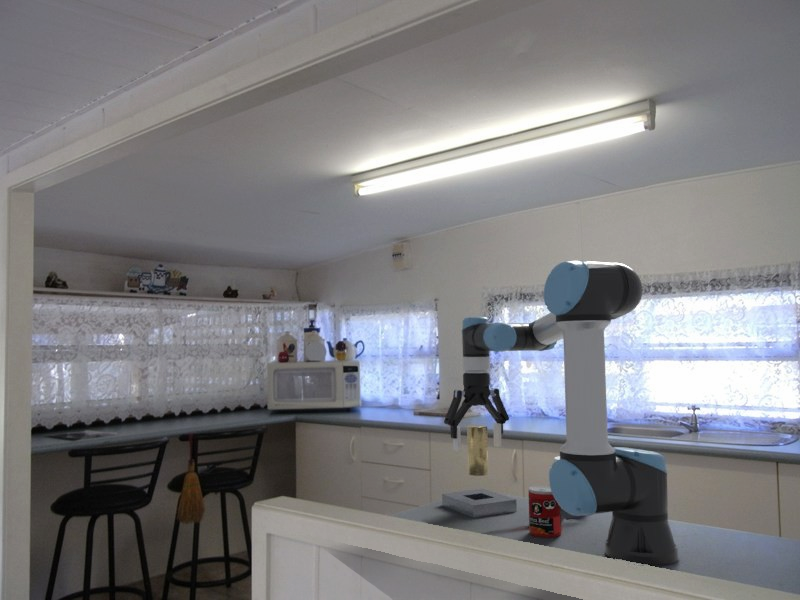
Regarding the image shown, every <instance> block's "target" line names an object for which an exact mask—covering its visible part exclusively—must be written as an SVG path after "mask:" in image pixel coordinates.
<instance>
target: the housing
mask: <svg viewBox="0 0 800 600" xmlns="http://www.w3.org/2000/svg"><path fill="white" fill-rule="evenodd" d="M441 506H442V507H445V508H447V509H450V510H453V511H455V512H457V513H459V514H462V515H465V516H468V517H470V518H471V519H476V518H482V517H489V516H496V515H497V516H498V515H503V514H511V513H516V512H518V511H517V509H518V508H517V507H518V506H517V499H516V498H513V497H510V496H507V495H503V494H500V493H497V492H494V491H491V490H488V489H485V488H479V489H470V490H463V491H455V492H454V491H453V492H447V493H441Z"/></svg>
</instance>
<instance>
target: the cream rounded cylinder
mask: <svg viewBox="0 0 800 600" xmlns="http://www.w3.org/2000/svg"><path fill="white" fill-rule="evenodd" d="M466 431H467V432H466V433H467V434H466V435H467V436H466V438H467V475H469V476H476V477H479V476H480V477H481V476H487V475H489V453H488V452H489V449H488V447H489V446H488V442H489V441H488V426H486V425H468V426H467V427H466Z"/></svg>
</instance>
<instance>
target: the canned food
mask: <svg viewBox="0 0 800 600" xmlns="http://www.w3.org/2000/svg"><path fill="white" fill-rule="evenodd" d="M528 518H529V519H528V521H529V522H528V523H529V524H528V525H529V532H530V534H531V535H532V536H534V537H537V538H543V539H544V538H545V539H546V538H547V539H549V538H558V537H559V536H561V534H562V530H563V529H562V509H561V507H560V506H559V505H558V503H557V501H556V500H555V498H554V496H553V494H552V491H551V488H550V485H547V484H545V485H539V484H538V485H533V486H530V487H528Z"/></svg>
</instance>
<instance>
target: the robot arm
mask: <svg viewBox="0 0 800 600" xmlns="http://www.w3.org/2000/svg"><path fill="white" fill-rule="evenodd" d="M642 297H643V283H642V281H641V279H640V276H639V275H638V274H637V273H636V271H635V270H634V269H632V268H631V267H630V266H628V265H626V264H624V263H619V262H603V261H591V260H568V261H566V260H565V261H563V262H559V263H558V264H556V265H555V266H554V267H553V268H552V269H551V271H550V273H549V274H548V276H547V278H546V280H545V283H544V288H543V301H544V304H545V306H546V309H547V311H549V313H547V314H545V315H544V316H541V317H539V318H538V319H536V320H534V321H532V322H530V323H529V322H528V323H526V322H525V323H520V322H519V323H515V322H514V323H513V322H512V323H509V322H507V323H506V322H498V321H497V322H493V323H490V321H489V318H488V317H485V316H475V317H474V316H472V317H471V316H470V317H469V316H468V317H465V318H464V319H463V320H462V329H461V336H462V338H461V339H462V340H461V342H462V343H461V344H462V370H463V371H464V373H463V374H462V384H463V390H461V389H460V390H459V389H454V391H453V396H452V397H453V398H452V401H451V403H450V406H449V408H448V410H447V413H446V415H445V418H444V420H443V423H444V424H445V425H447V426H450V427H449V428H450V438H451V439H452V450H453V451H456V452H461V450H462V447H461V442H462V441H461V438H462V437H461V426H459V424H460V423H461V422H462V420H463V419H464V417H465V415H466V414H467V412H468V411H469V410H470V408H471V407H473V406H474V407H477V406H483V407H484V408H485V409H486V410H487V412H488V413H489V414H490V416H491V417H492V419H493V420H494V421H495V422H493V425H492V426H493V427H492V428H493V447H495V448H496V447H498V448H502V447H503V446H502V435H504V424H506V422H507V421H509V420H510V416H509V414H508V411H507V410H506V408H505V406H504V403H503V401H502V399H501V396H500V389H499V388H494V387H492V388H490V385H491V374H490V373H489V371H491V366H490V365H491V364H490V352H496V353H499V352H515V351H516V352H518V351H521V352H522V351H523V352H524V351H525V352H527V351H529V352H531V351H532V352H534V351H535V352H544V351H549V350H550V351H551V350H553V349H554V348H555V345H556V344H558V343H557V342H558V341H560V340H562V339H563V364H564V365H563V366H564V395H565V396H564V398H565V399H564V400H565V401H564V402H565V427H566V429H565V430H566V432H565V434H566V437H565V438H566V441H565V443H564V444H563V445H562V446H561V447H559V456H560V460H557V461H556V462H554V461H553V463H552V464H551V467H550V468H549V470H548V471H549V472H548V482H549V486H550V488H551V491H552V494H553V496H554V498H555V500H556V501H557V503H558V505H559V506H560V507H561V508H562V509H561V510H563V511H564V512H566V513H567V514H569V515H571V516H578V517H579V516H587V517H588V516H593V515H598V514H604V513H612V516H611V521H610V526H609V529H608V534H607V537H606V539H605V543H604V549H605V550H604V551H605V555H606V556H608V557H609V558H610V557H612V558H616V559H622V560H626V561H630V562H636V563H641V564H648V565H654V566H653V567H655V566H656V567H660V566H661V567H662V566H668V565H671V564H674V563H676V562H677V561H678V559H679V550H678V546H677V543H675V541H674V536H673V533H672V530H671V529H672V528H671V526H670V523H669V513H668V509H669V507H668V504H669V503H668V471H667V465H666V463H667V462H666V459H665V457H664V456H663V455H662V454H661V453H659V452H656V451H651V450H646V449H645V450H644V449H639V448H631V447H630V448H629V447H623V446H622V447H621V446H620V447H619V446H618V447H617V446H614V447H613V446H612V445H611V444H610V443H609V439H608V438H609V437H608V436H609V434H608V413H607V412H608V411H607V410H608V409H607V383H606V382H607V381H606V349H605V330H606V328H607V327H608V326H609V325H610V324H611V323H612V320H617V319H618V318H621V317H623V316H624V315H627V314H630V313H631V312H632V311H634V310H635V309H636V308H637V306H638V305H639V304H640V301H642ZM489 397H491V399H492V401H493V403H494V405H493V403H492V401H491V399H490V398H489ZM463 398H464V399H463ZM462 399H463V400H462ZM612 558H611V559H612Z"/></svg>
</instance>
